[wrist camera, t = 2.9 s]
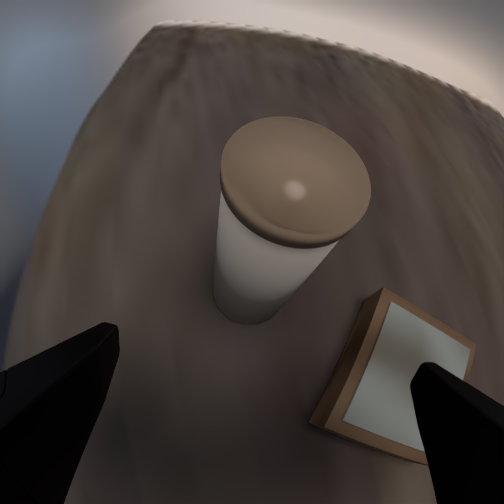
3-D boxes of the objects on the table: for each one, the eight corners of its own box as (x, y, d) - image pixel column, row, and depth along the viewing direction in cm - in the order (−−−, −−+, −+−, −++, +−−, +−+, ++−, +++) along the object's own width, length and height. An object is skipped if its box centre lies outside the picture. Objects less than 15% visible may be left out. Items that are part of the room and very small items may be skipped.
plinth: (413, 462, 18) (438, 467, 15) (308, 422, 18) (325, 427, 16) (453, 351, 22) (478, 343, 19) (364, 299, 23) (385, 285, 20)
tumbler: (254, 341, 20) (323, 271, 9) (195, 292, 21) (187, 167, 10) (299, 286, 22) (390, 173, 11) (243, 241, 23) (281, 99, 12)
